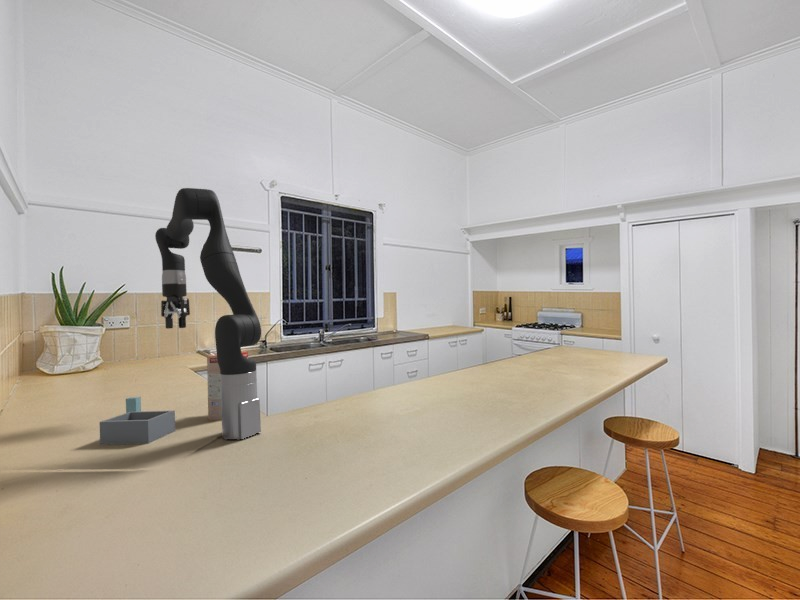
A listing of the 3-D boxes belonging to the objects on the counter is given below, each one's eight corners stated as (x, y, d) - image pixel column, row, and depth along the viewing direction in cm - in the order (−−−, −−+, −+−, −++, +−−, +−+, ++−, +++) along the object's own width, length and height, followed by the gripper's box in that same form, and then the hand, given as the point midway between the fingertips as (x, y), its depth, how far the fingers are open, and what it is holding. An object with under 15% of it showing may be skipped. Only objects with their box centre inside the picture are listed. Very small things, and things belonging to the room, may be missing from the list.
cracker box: (224, 422, 117) (221, 355, 117) (207, 421, 118) (205, 355, 119) (251, 410, 130) (248, 350, 131) (235, 410, 131) (233, 351, 132)
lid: (180, 419, 125) (179, 392, 125) (155, 429, 114) (154, 400, 114) (138, 420, 126) (138, 394, 126) (110, 430, 115) (110, 402, 116)
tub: (175, 433, 107) (174, 410, 108) (148, 445, 98) (148, 420, 98) (130, 434, 109) (130, 411, 109) (100, 446, 99) (99, 421, 99)
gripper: (152, 284, 135) (154, 329, 134) (174, 281, 128) (175, 328, 127) (174, 285, 141) (175, 328, 141) (195, 282, 134) (197, 327, 133)
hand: (175, 328), depth 134 cm, fingers open, 8 cm apart
